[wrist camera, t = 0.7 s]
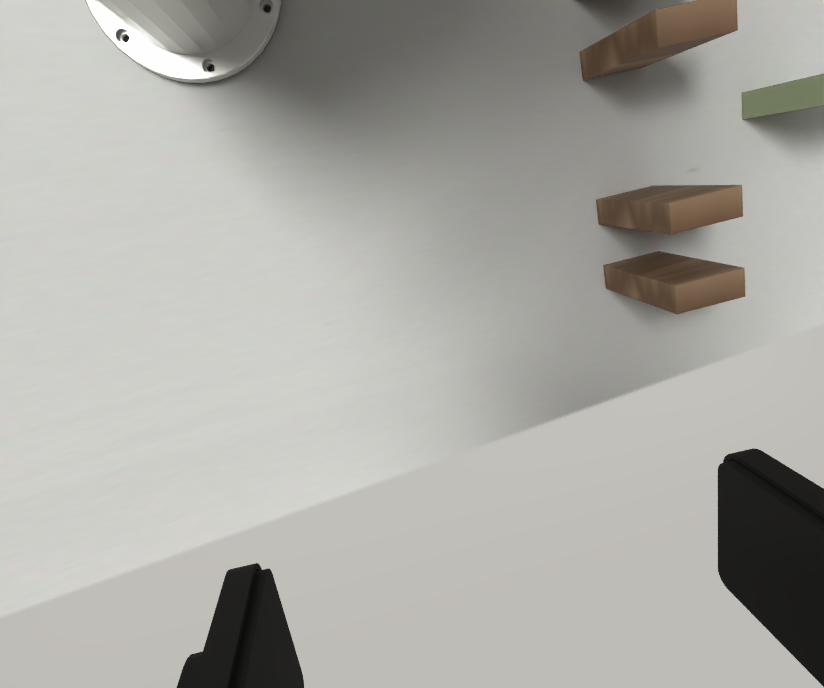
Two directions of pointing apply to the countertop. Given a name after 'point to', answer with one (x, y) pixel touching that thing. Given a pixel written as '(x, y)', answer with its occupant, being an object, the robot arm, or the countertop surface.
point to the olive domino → (784, 97)
